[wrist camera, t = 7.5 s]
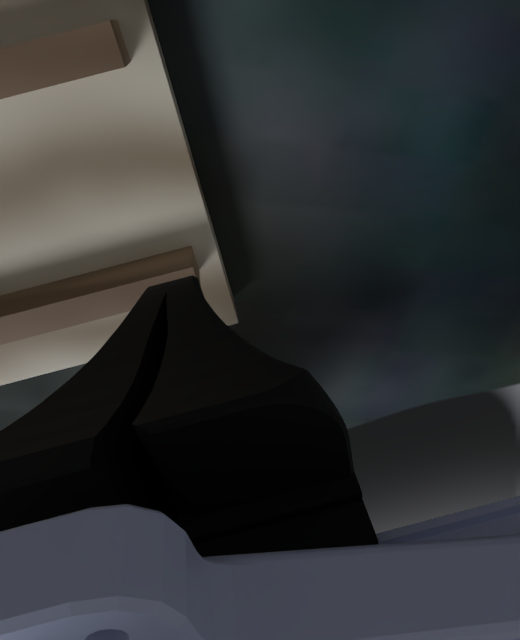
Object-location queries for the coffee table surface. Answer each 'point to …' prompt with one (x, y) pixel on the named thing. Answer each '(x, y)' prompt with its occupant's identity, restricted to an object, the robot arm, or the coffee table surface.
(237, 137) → the coffee table surface
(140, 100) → the deck
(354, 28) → the coffee table surface
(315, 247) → the coffee table surface
